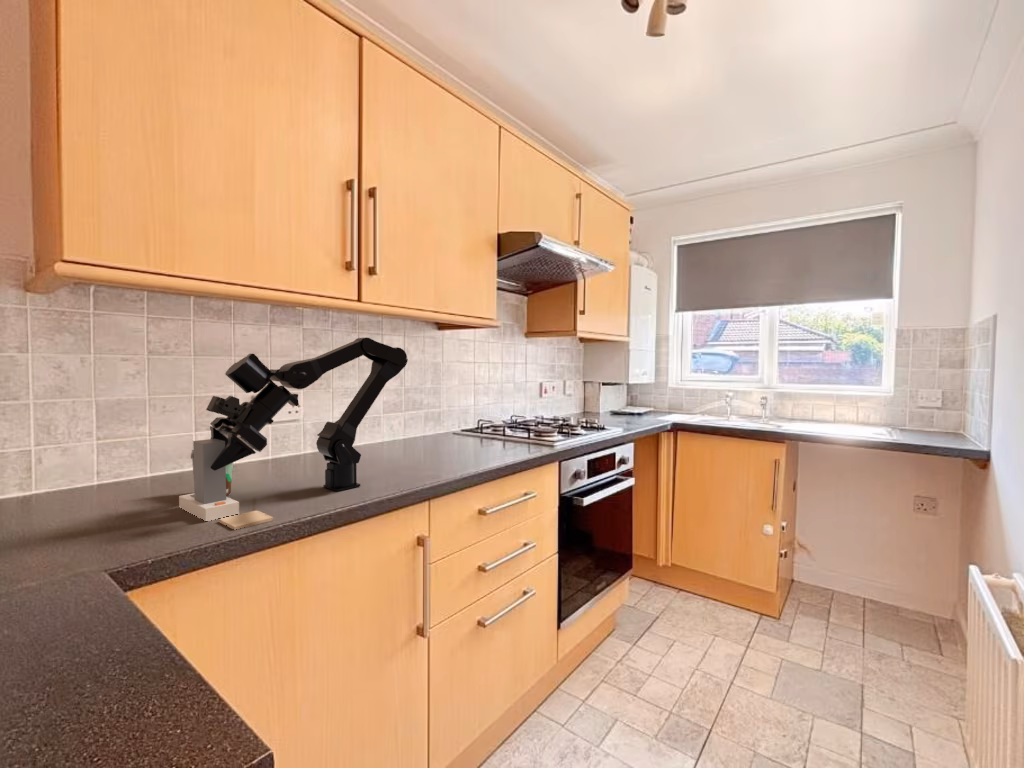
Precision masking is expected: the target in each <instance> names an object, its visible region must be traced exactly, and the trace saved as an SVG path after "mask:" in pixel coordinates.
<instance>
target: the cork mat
mask: <svg viewBox="0 0 1024 768" xmlns="http://www.w3.org/2000/svg"><path fill="white" fill-rule="evenodd" d="M273 521H274V517H273V516H271V515H268V514H267V513H263V512H261V511H260V510H253V511H252V510H251V511H247V512H244V513H239V514H238V515H234V516H229V517H225V518H221V519H218V523H220V524H222V525H224V526H226V525H227V526H226V527H228V528H230V529H232V530H233V529H234V531H237V530H240V528H241V529H245V528H248V527H249V528H250V527H252V526H253V527H254V526H256V525H260V524H266V523H269V522H273ZM244 527H245V528H244ZM236 529H237V530H236Z"/></svg>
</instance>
